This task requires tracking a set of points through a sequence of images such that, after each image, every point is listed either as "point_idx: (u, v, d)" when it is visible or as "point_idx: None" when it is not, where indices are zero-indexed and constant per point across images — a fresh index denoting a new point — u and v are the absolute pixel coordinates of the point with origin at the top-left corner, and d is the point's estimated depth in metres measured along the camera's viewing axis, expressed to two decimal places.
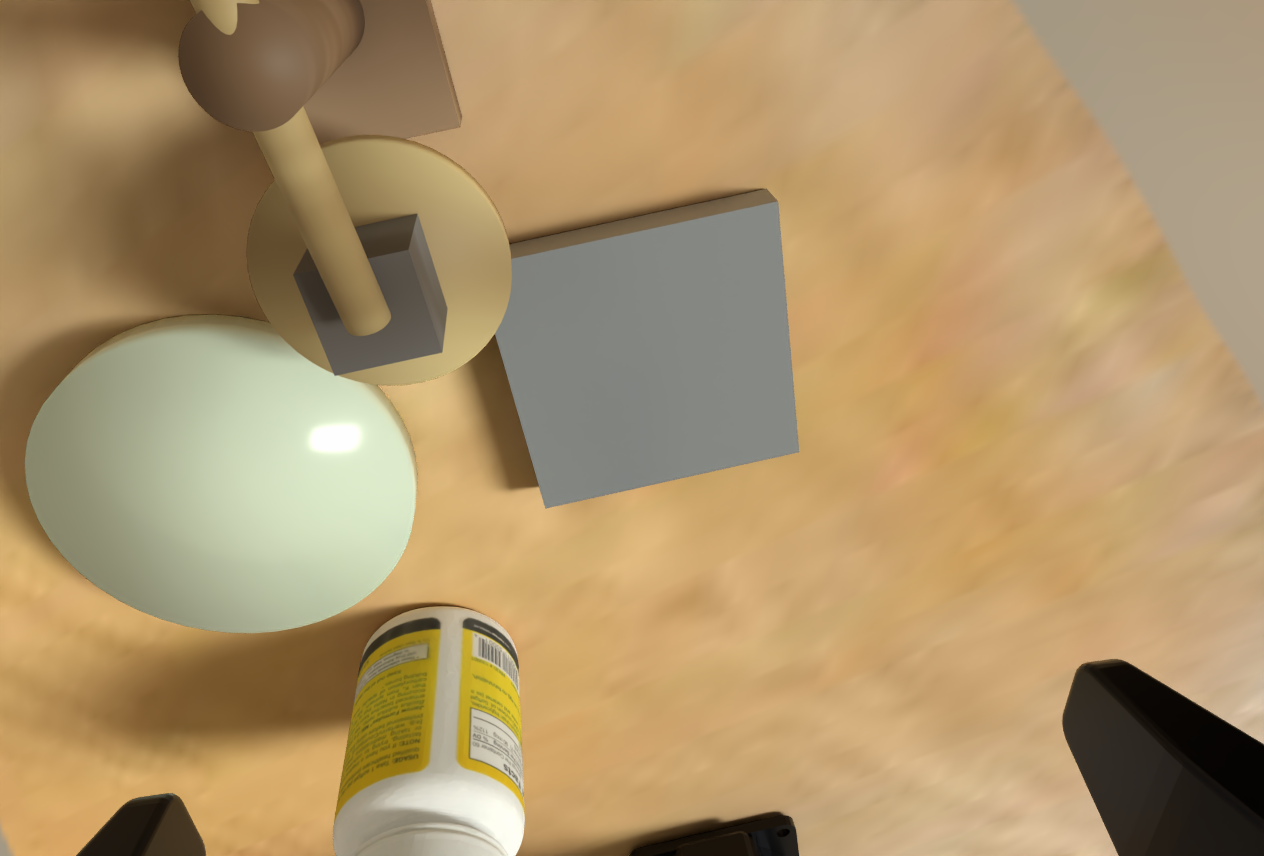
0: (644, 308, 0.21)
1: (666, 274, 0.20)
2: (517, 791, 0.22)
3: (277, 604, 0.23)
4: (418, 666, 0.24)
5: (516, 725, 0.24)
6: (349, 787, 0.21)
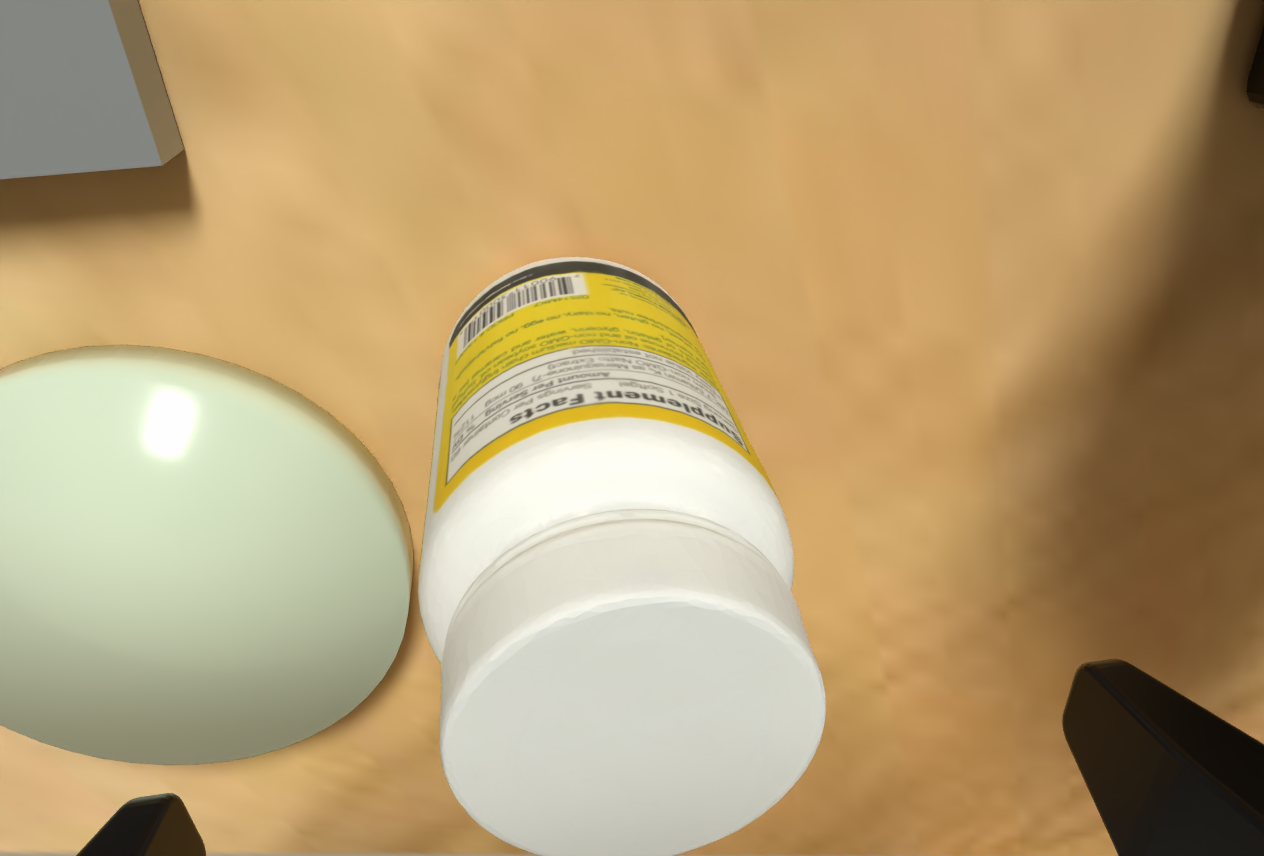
0: None
1: None
2: (563, 416, 0.10)
3: (354, 580, 0.16)
4: None
5: (559, 337, 0.12)
6: None
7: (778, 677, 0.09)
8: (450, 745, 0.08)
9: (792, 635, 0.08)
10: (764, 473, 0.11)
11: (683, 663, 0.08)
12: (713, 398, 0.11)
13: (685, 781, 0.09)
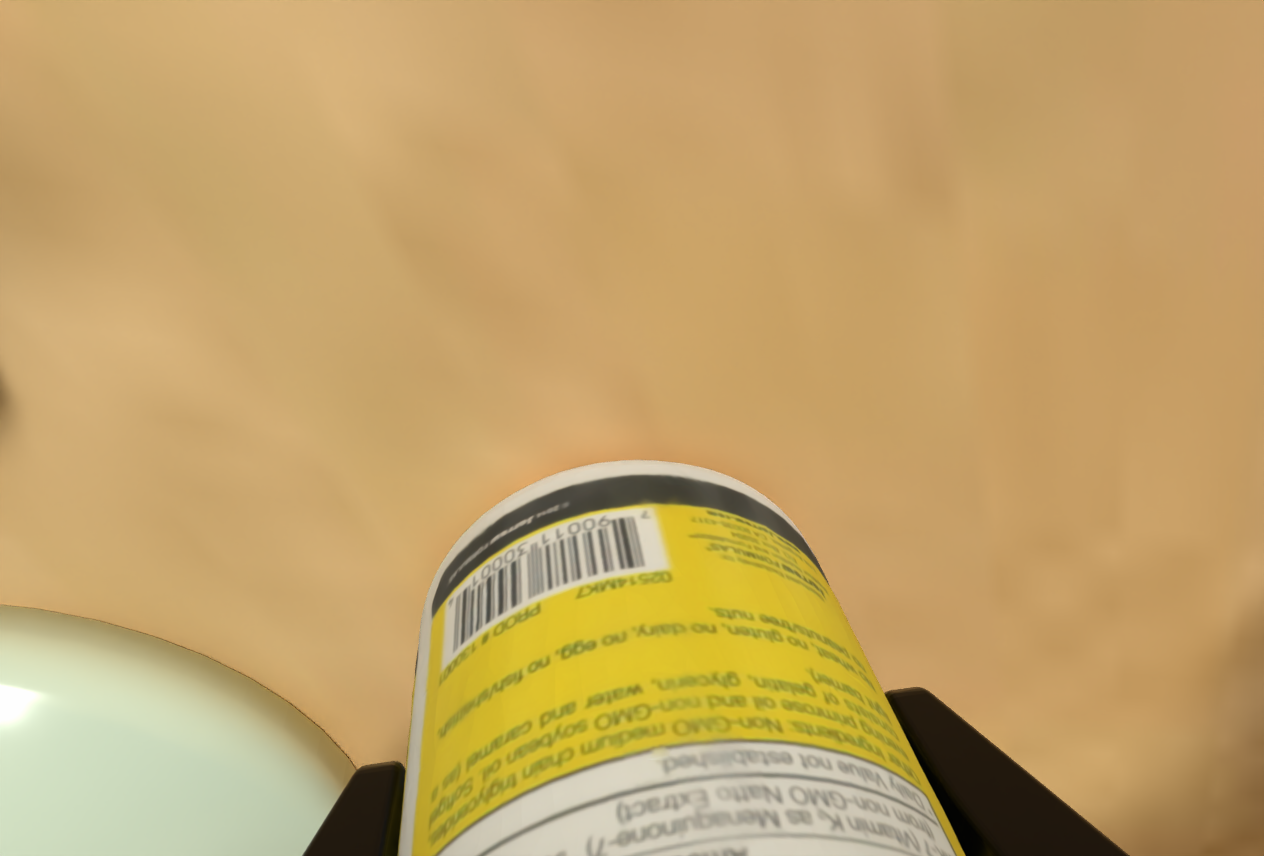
0: None
1: None
2: None
3: None
4: None
5: (630, 705, 0.06)
6: None
7: None
8: None
9: None
10: None
11: None
12: (933, 846, 0.06)
13: None
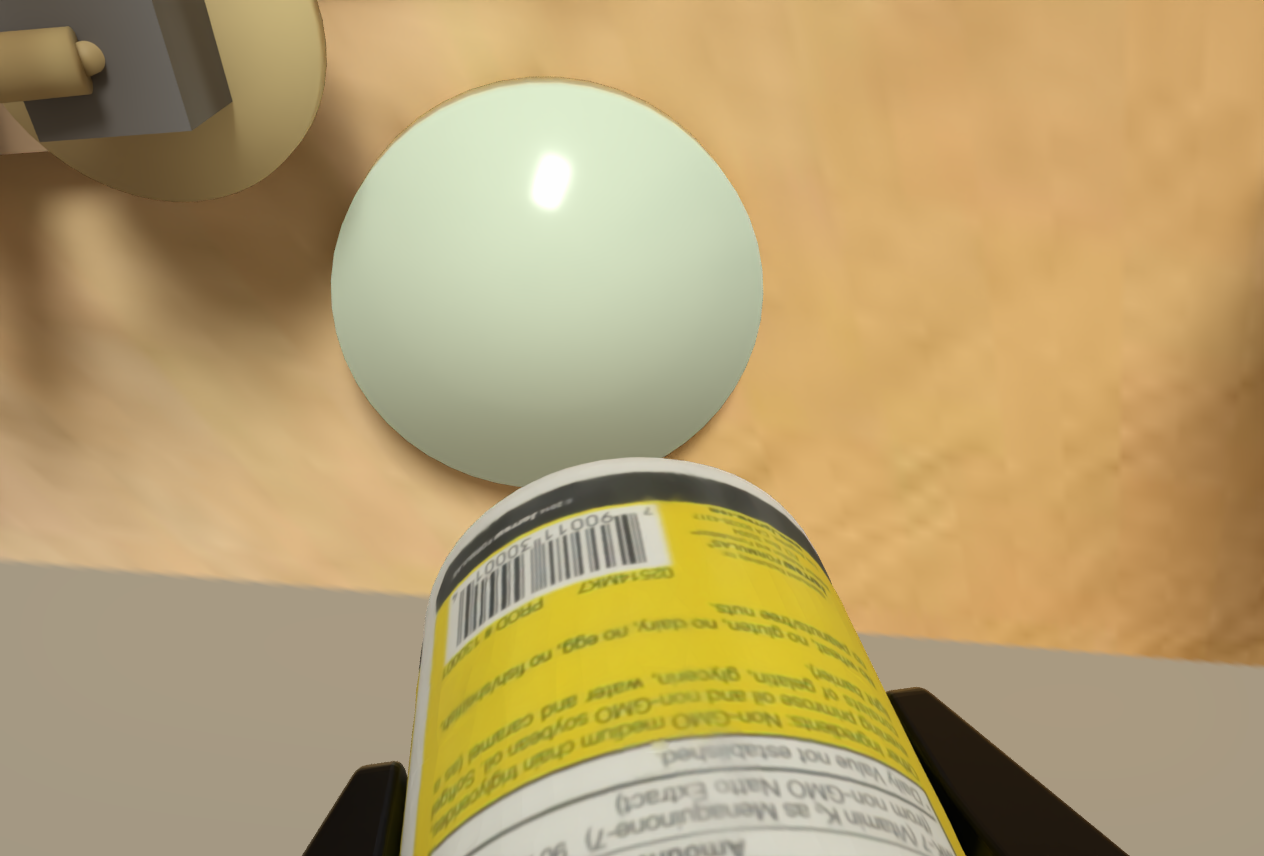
0: None
1: None
2: None
3: (719, 306, 0.19)
4: None
5: (631, 699, 0.06)
6: None
7: None
8: None
9: None
10: None
11: None
12: (931, 841, 0.06)
13: None
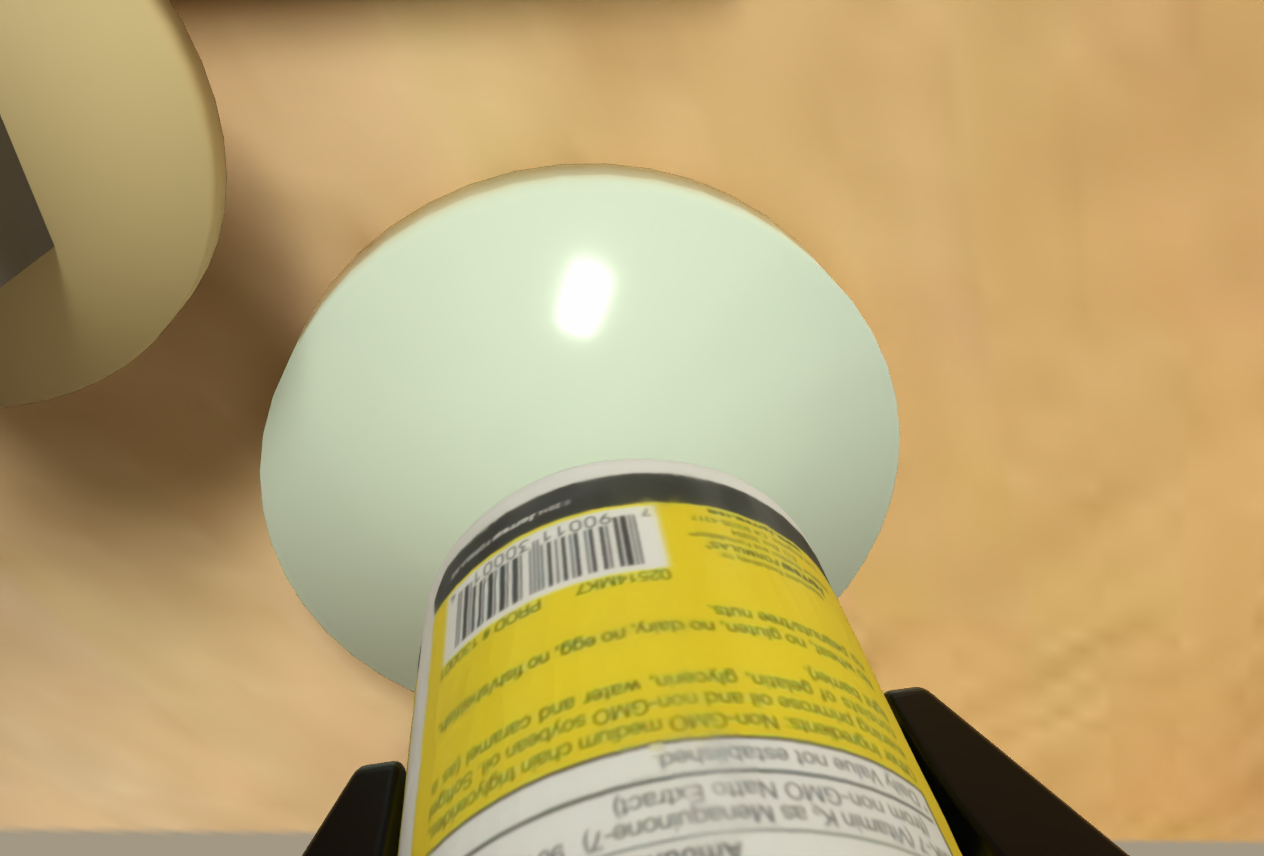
0: None
1: None
2: None
3: (834, 483, 0.13)
4: None
5: (628, 701, 0.06)
6: None
7: None
8: None
9: None
10: None
11: None
12: (928, 843, 0.06)
13: None
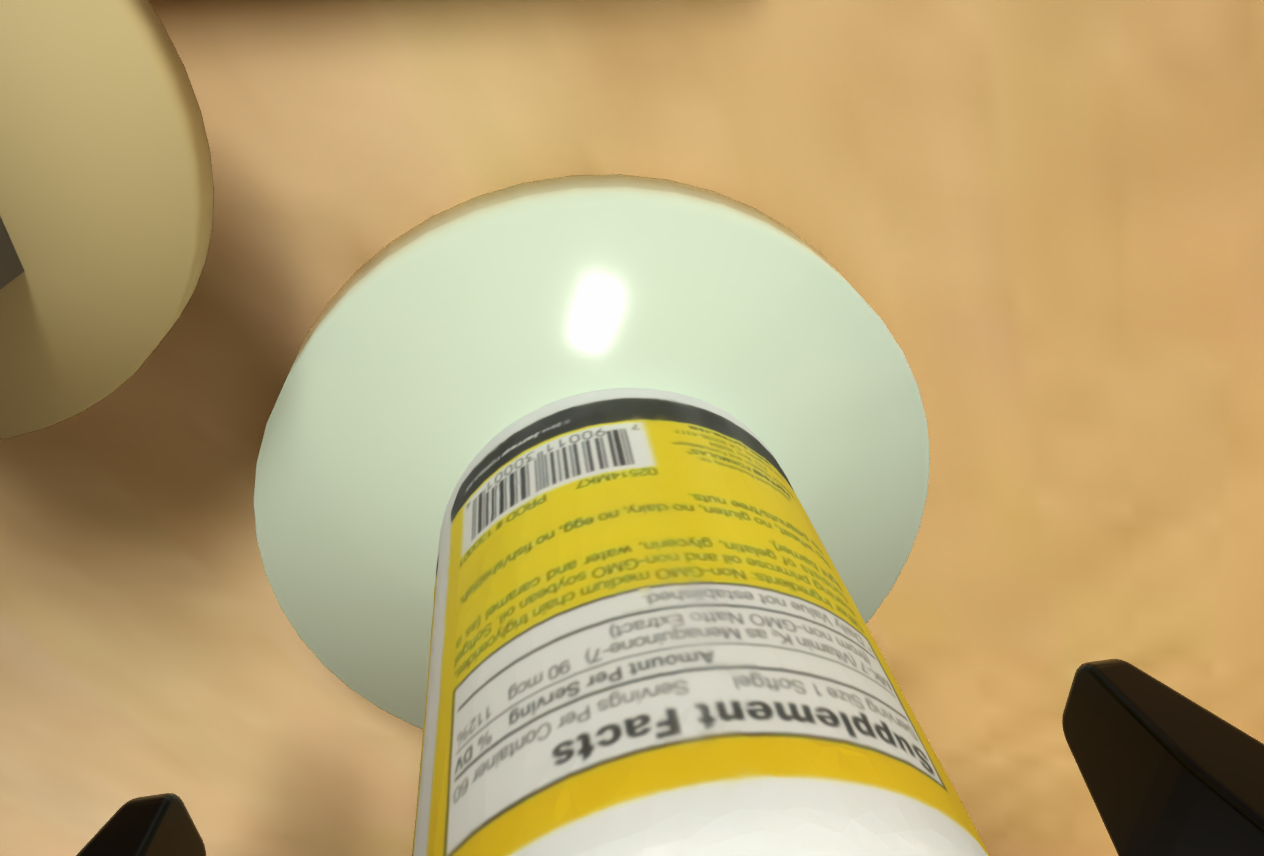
0: None
1: None
2: (648, 769, 0.06)
3: (860, 511, 0.12)
4: None
5: (621, 560, 0.08)
6: None
7: None
8: None
9: None
10: (966, 815, 0.07)
11: None
12: (868, 667, 0.07)
13: None
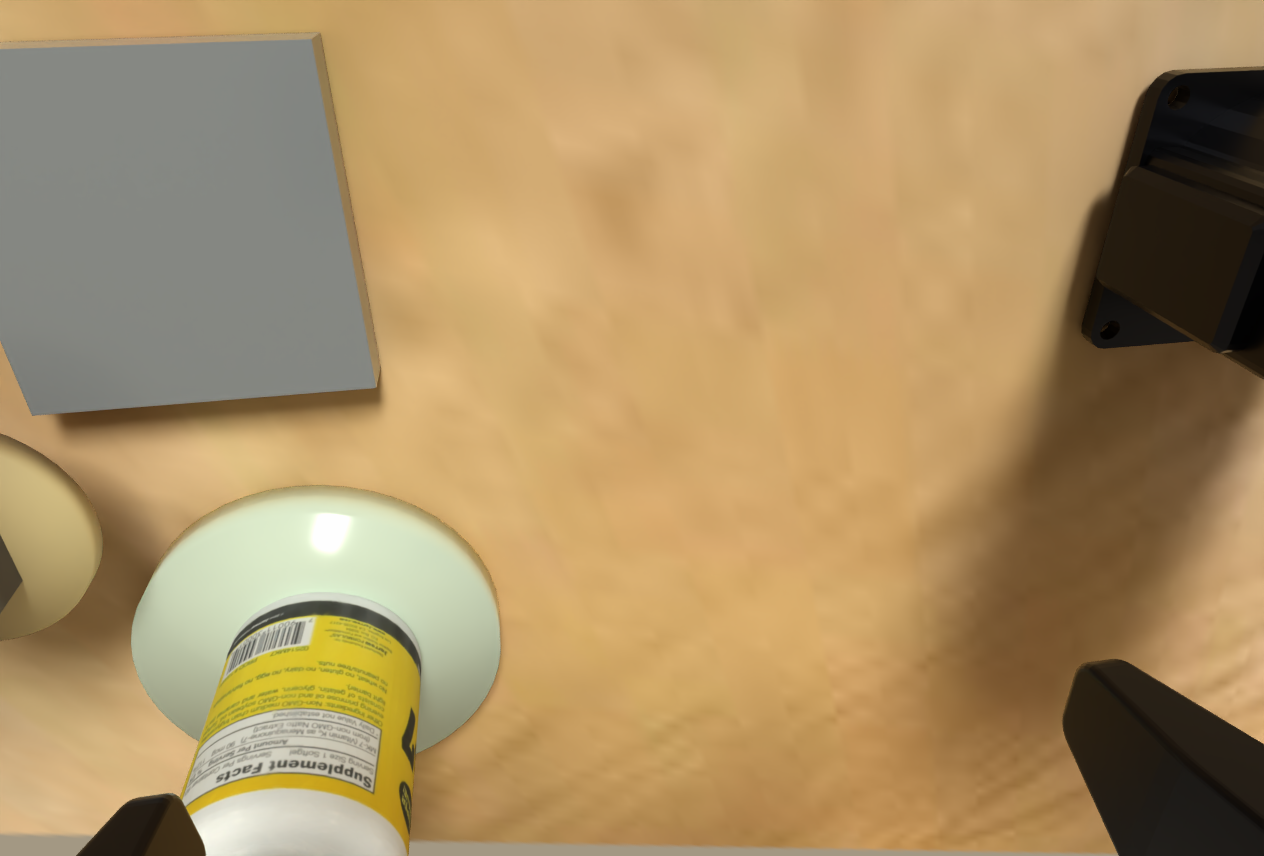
0: (69, 244, 0.16)
1: (15, 212, 0.16)
2: (243, 785, 0.16)
3: (464, 644, 0.23)
4: None
5: (271, 696, 0.18)
6: None
7: None
8: None
9: None
10: (385, 803, 0.17)
11: None
12: (365, 744, 0.18)
13: None
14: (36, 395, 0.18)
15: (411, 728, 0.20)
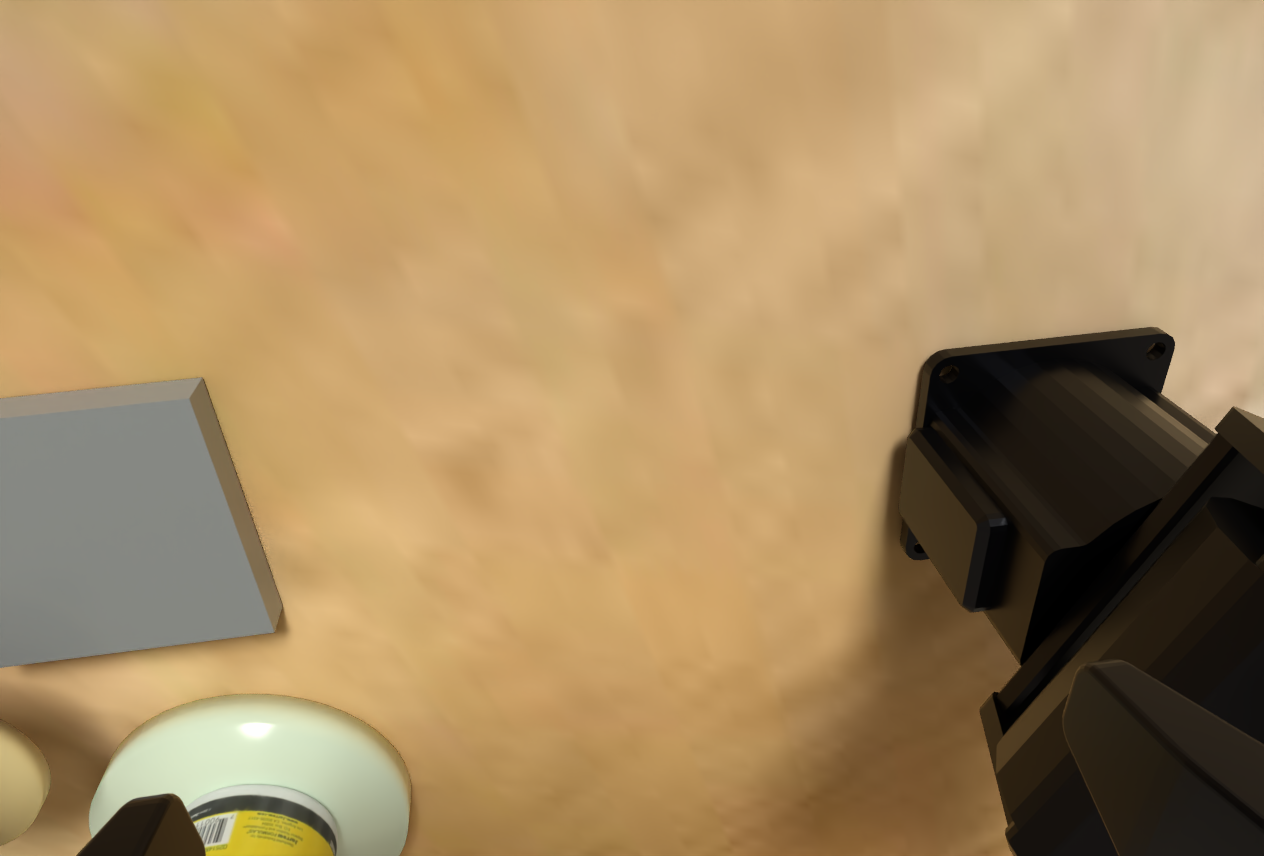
0: (10, 549, 0.20)
1: None
2: None
3: (375, 816, 0.26)
4: None
5: None
6: None
7: None
8: None
9: None
10: None
11: None
12: None
13: None
14: None
15: None
